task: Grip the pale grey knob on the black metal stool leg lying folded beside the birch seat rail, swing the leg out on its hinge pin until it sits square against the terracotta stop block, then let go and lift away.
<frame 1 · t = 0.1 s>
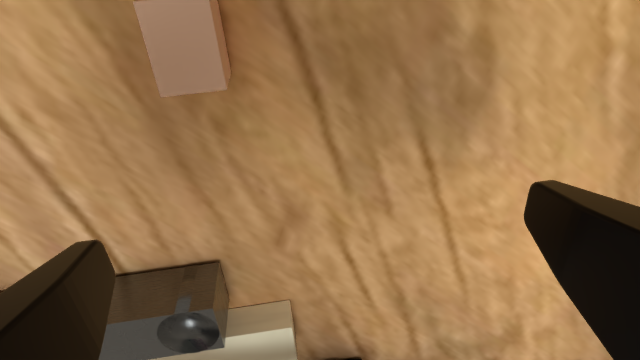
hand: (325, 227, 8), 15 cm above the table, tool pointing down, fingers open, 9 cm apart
stop block: (193, 36, 20), on the table
seat rail: (132, 343, 30), on the table
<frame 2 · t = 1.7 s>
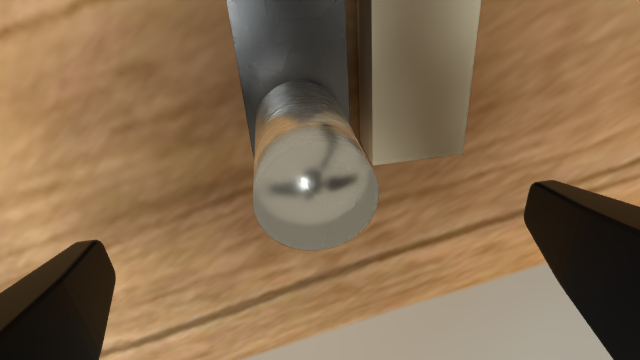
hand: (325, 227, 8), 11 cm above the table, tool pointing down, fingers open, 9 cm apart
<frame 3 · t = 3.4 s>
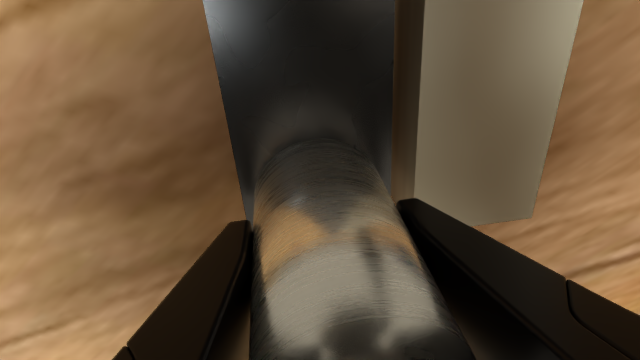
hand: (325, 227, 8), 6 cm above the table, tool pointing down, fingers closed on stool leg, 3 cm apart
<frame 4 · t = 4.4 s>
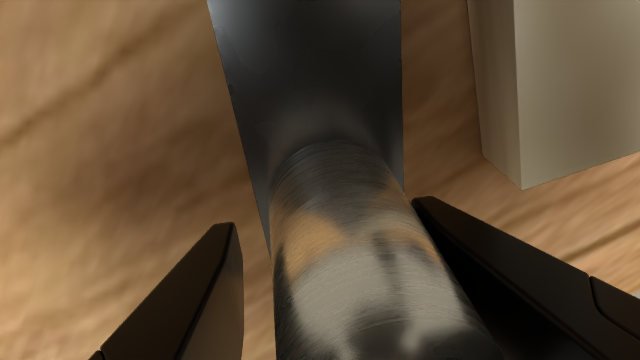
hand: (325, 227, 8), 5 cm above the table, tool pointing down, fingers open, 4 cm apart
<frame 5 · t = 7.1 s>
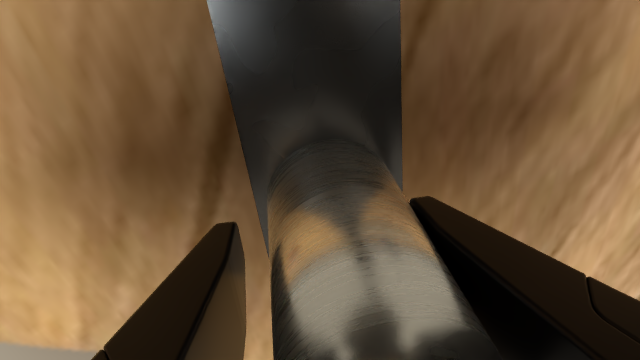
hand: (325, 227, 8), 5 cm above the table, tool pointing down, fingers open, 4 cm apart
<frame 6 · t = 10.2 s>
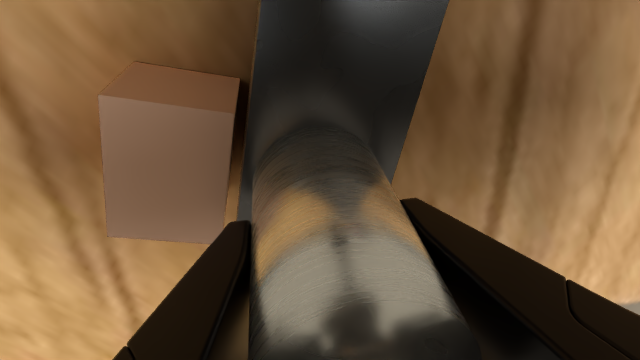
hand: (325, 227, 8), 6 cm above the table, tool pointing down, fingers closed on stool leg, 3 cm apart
stop block: (185, 132, 13), on the table
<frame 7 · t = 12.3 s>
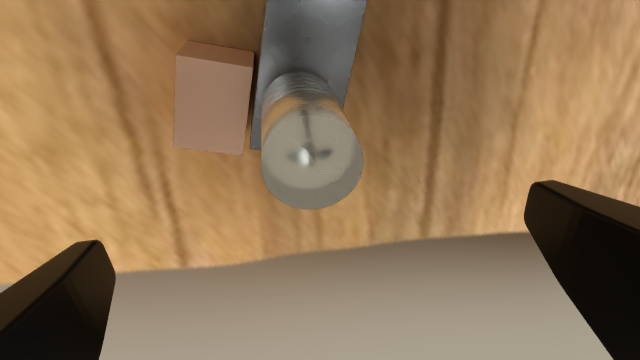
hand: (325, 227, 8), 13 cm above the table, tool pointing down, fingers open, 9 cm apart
stop block: (218, 88, 19), on the table
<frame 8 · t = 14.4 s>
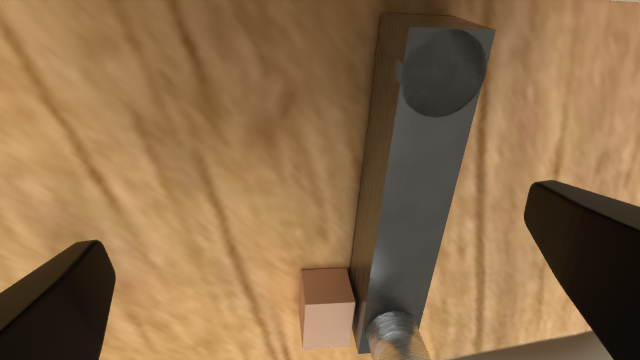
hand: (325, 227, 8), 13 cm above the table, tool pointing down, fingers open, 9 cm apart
stop block: (321, 291, 27), on the table
stool leg: (415, 233, 19), point 5 cm above the table, hinge at 89.7°
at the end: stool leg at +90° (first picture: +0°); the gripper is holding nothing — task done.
